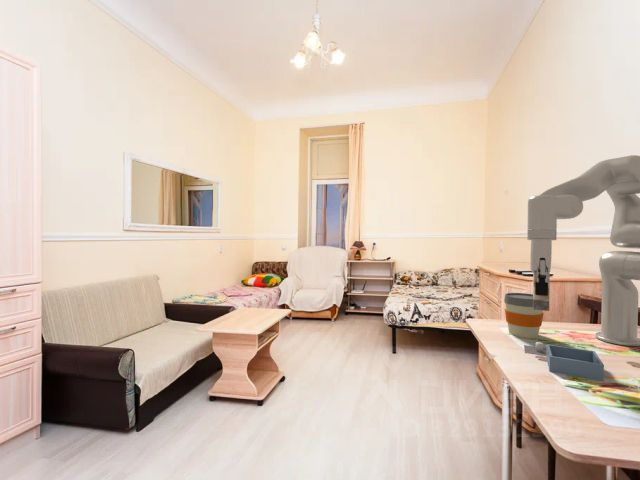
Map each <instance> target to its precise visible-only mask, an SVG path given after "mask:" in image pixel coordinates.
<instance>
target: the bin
mask: <svg viewBox="0 0 640 480" xmlns="http://www.w3.org/2000/svg"><path fill="white" fill-rule="evenodd" d="M545 346H546V356H545V360H546V362H547V367H548V371H549V372H550V373H551V372H552V373H556V374H563V375H568V376H572V377H573V376H574V377H580V378H584V379H591V380H596V381H602V382H604V380H605V379H604V376H605V375H604V374H605V372H604V371H605V365H604V363H603V361H602V360H601V359H600V357H599V356H598V354H597V353H596V351H595V350H589V349H581V348H576V347H575V348H574V347H569V346H568V347H567V346H563V345H562V346H561V345H553V344H547V343H546V345H545Z"/></svg>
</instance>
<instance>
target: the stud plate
mask: <svg viewBox="0 0 640 480" xmlns="http://www.w3.org/2000/svg"><path fill="white" fill-rule="evenodd" d="M523 348H524V354H529V355H536V356H542V357H546V348H545V347H544V342H540V341H536V342H535V346H534V345H533V346H532V345H526V344H524V345H523Z"/></svg>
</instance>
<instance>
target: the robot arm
mask: <svg viewBox="0 0 640 480" xmlns="http://www.w3.org/2000/svg"><path fill="white" fill-rule="evenodd" d="M604 192H606V193H607V195H608V196H609V197H610V199H611V202H612V203H613V206H614V214H613V221H612V225H611V229H610V230H611V231H610V235H609V236H610V237H609V239H610V240H609V241H610V243H611V244H612V245H613V246H614V247H617V248H622V249H637V250H639V249H640V197H639V196H638V195H639V194H640V155H636V154H635V155H634V154H633V155H632V154H631V155H626V156H620V157H615V158H608V159H603V160H602V161H599V162H597V163H595V164H594V165H592V166H591V167H590V168H589V169H587V170H586V171H584V172H582V173H581V174H580V175H579V176H577V177H575V178H572V179H570V180H566V181H565V182H563V183H561V184H558V185H555V186H553V187H551V188H548V189H547V190H545V191H543V192H541V193H540V194H538V195H533V196H530V197H529V198H528V200H527V241H531V242H530V262H529V263H530V267H529V269H530V271H531V273H533V272H534V270H535V271H536V282H535V294H536V295H541V296H548V283H547V273H549V272H550V273H551V269H552V253H553V252H552V251H553V249H552V247H553V246H552V244H553V241H557V236H558V235H557V233H558V232H557V228H558V227H557V225H558V222H557V221H558V220H568V219H569V220H570V219H574V218H578V216H580V215H581V213H582V212H583V211H584V203H583V202H586V201H589V200H592V199H595V198H597V197H599V196H600V195H601V194H602V193H604ZM598 267H599V272H600V276H601V315H600V317H601V321H600V322H601V323H600V324H601V325H600V327H601V328H600V331H598V332H596V333H595V338H596V339H598V340H600V341H603V342H607V343H610V344H615V345H619V346H620V345H621V346H628V347H640V337H638V327H639V326H638V323H639V321H638V320H639V318H638V317H639V290H638V288H637V287H636V285H635V284H634V283H633V281H640V251H630V250H629V251H628V250H627V251H626V250H612V251H611V250H610V251H607V252H605V253H603V254H602V255H601V256H600V257H599V260H598ZM538 270H539V271H540V272H538ZM545 270H546V272H545ZM547 271H548V272H547ZM632 280H633V281H632Z"/></svg>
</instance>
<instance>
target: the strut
mask: <svg viewBox="0 0 640 480" xmlns="http://www.w3.org/2000/svg"><path fill="white" fill-rule="evenodd" d="M538 272H540V271H539V270H538ZM545 272H546V270H545ZM547 272H548V271H547ZM532 273H533V274H532V275H533V277H532V281H533V282H532V287H533V288H532V294H533V309H534V310H543V311H545V312H546V311H547V312H549V311H550V291H551V290H550V286H551V285H550V282H551V281H550V278H551V277H550V275H551V271H550V272H549V273H547V283H548V296H541V295H536V294H535V282H536V271H535V270H534V272H532Z"/></svg>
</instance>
